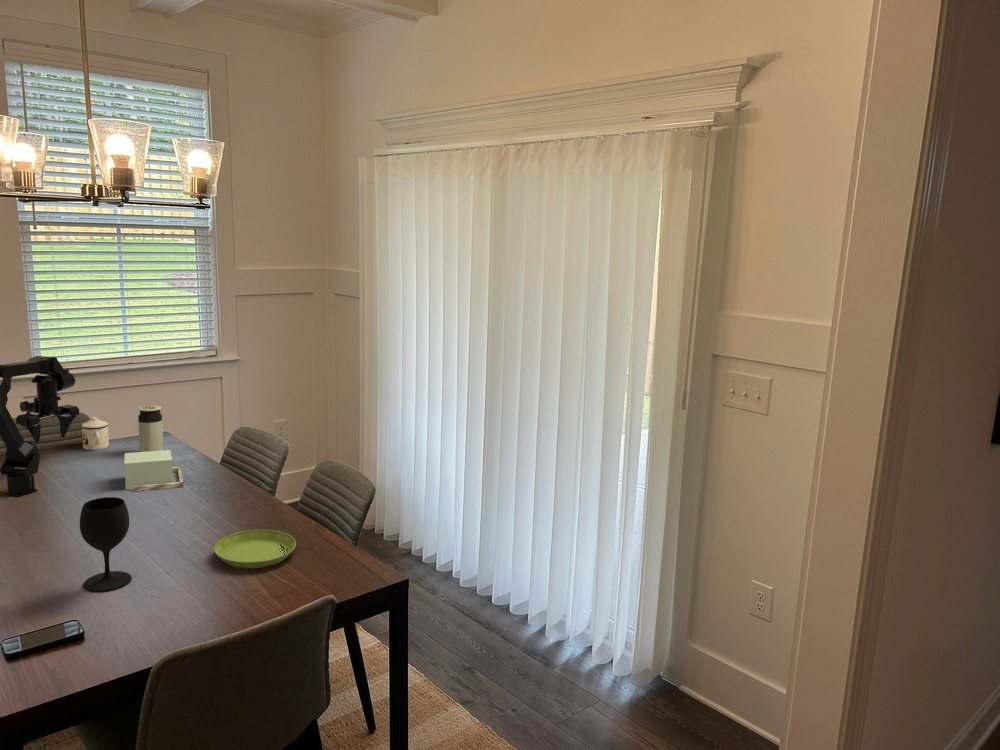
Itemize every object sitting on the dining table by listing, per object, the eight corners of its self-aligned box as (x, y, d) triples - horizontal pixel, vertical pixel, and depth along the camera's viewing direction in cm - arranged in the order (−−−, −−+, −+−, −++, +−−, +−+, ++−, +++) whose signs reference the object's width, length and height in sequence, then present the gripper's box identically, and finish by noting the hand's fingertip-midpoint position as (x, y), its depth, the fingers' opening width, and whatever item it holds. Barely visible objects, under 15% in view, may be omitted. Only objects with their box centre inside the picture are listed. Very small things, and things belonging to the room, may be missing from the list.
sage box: (125, 490, 238) (124, 463, 236) (125, 478, 248) (124, 453, 247) (172, 485, 244) (172, 459, 243) (171, 474, 255) (170, 449, 253)
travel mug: (148, 458, 270) (146, 411, 266) (135, 454, 274) (133, 407, 270) (167, 453, 276) (166, 407, 273) (154, 449, 281) (153, 404, 277)
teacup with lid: (80, 445, 281) (79, 415, 279) (107, 442, 287) (106, 413, 284) (84, 453, 272) (83, 423, 270) (112, 450, 277) (110, 420, 275)
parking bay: (134, 491, 237) (134, 487, 236) (135, 474, 253) (135, 470, 252) (183, 487, 243) (183, 482, 243) (181, 470, 259) (180, 466, 259)
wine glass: (120, 568, 184) (116, 492, 181) (139, 582, 178) (136, 504, 174) (75, 582, 176) (71, 503, 173) (94, 596, 170) (89, 515, 166)
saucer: (210, 576, 183) (209, 564, 183) (218, 542, 203) (218, 531, 202) (296, 570, 189) (296, 558, 188) (296, 538, 208) (296, 527, 208)
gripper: (55, 386, 251) (58, 430, 254) (2, 396, 234) (5, 443, 237) (79, 390, 247) (82, 435, 250) (27, 400, 230) (30, 448, 233)
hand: (50, 440), depth 243 cm, fingers open, 9 cm apart
